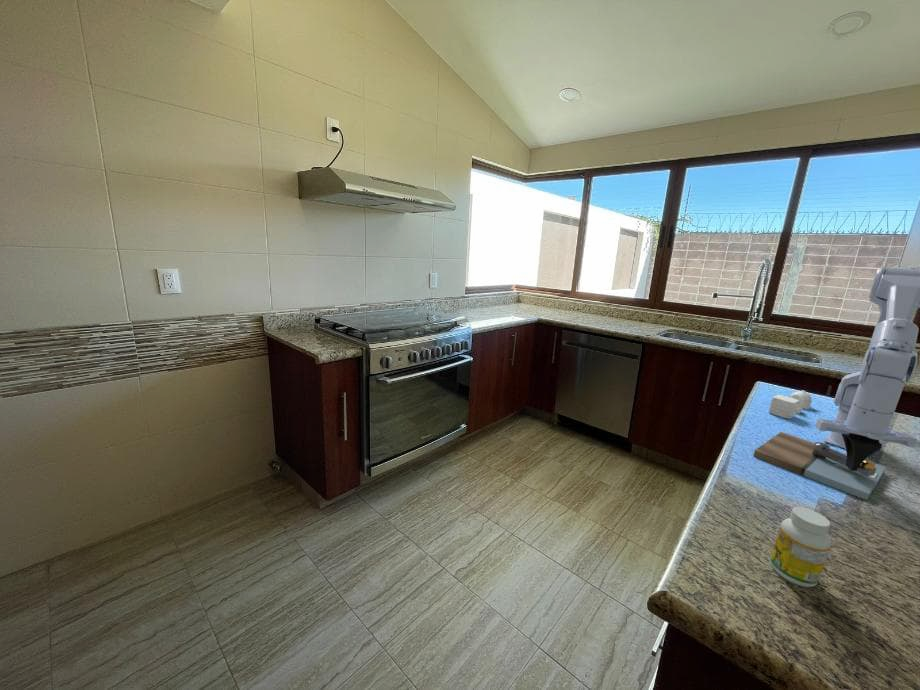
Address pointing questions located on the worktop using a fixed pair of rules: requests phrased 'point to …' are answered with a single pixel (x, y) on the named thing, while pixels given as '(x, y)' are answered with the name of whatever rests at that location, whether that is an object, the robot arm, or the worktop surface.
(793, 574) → the supplement bottle
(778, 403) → the container set
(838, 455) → the lock bar
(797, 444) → the jamb board
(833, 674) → the worktop surface
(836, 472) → the door leaf
